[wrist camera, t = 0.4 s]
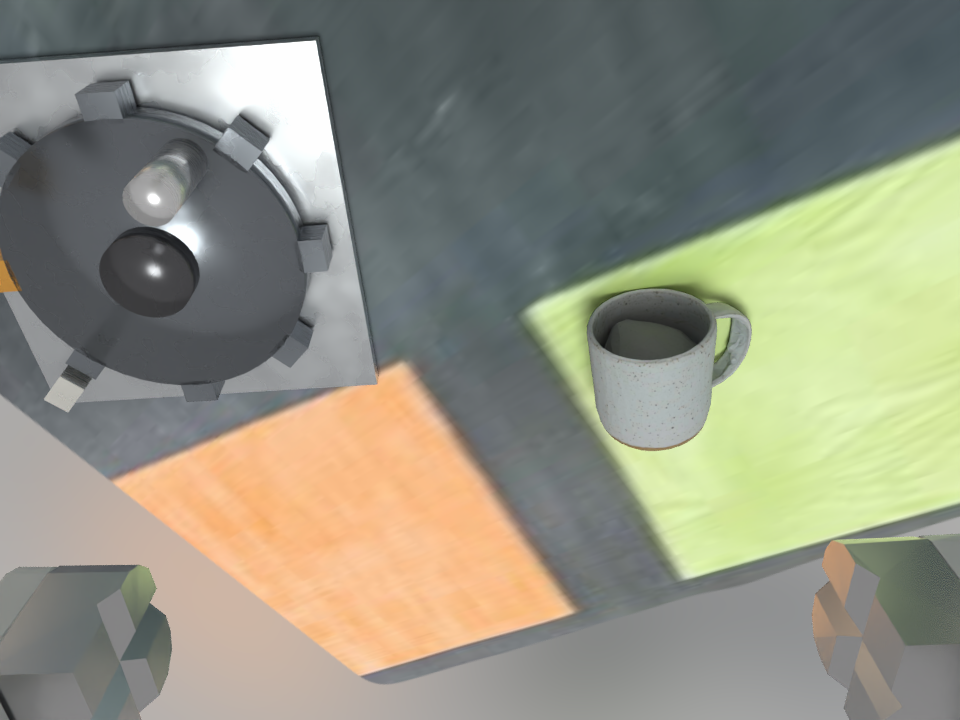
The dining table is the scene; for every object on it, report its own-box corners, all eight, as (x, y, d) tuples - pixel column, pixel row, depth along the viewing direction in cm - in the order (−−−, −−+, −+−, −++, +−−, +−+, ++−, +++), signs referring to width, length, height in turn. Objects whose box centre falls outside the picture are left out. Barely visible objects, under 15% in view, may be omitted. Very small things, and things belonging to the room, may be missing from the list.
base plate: (-93, 66, 41) (-143, 88, 37) (318, 36, 40) (305, 55, 37) (63, 394, 53) (37, 432, 50) (378, 375, 53) (372, 412, 49)
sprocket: (-75, 95, 40) (-172, 144, 34) (295, 68, 40) (264, 113, 34) (66, 391, 52) (11, 468, 45) (356, 373, 51) (340, 449, 45)
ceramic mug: (590, 396, 54) (609, 472, 48) (578, 297, 49) (596, 367, 43) (743, 371, 53) (782, 445, 47) (744, 269, 48) (788, 335, 42)
